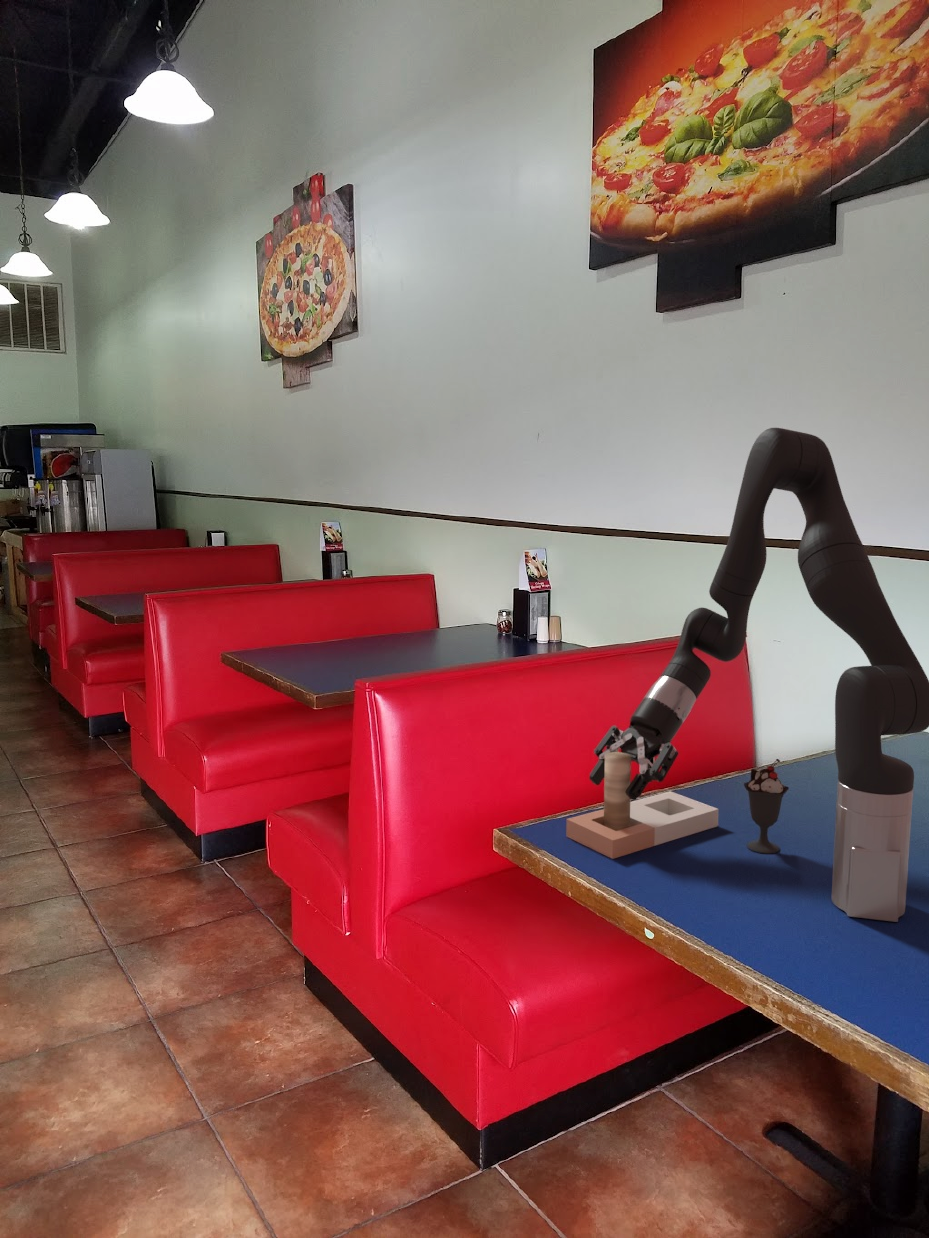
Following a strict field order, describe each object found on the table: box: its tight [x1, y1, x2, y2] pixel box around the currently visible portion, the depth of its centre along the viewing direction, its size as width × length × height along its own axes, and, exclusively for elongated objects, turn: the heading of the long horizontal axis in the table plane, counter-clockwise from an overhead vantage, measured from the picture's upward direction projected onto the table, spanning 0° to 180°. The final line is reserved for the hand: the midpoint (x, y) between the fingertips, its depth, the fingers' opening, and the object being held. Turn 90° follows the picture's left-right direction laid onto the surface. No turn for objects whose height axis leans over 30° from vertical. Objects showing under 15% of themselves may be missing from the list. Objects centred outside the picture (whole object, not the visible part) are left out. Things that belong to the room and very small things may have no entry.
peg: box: [603, 751, 632, 831], centre depth 146 cm, size 4×4×14 cm
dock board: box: [565, 790, 720, 860], centre depth 150 cm, size 24×11×3 cm, turn 124°
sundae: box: [743, 758, 789, 855], centre depth 142 cm, size 7×7×15 cm
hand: (611, 789), depth 145 cm, fingers open, 8 cm apart
